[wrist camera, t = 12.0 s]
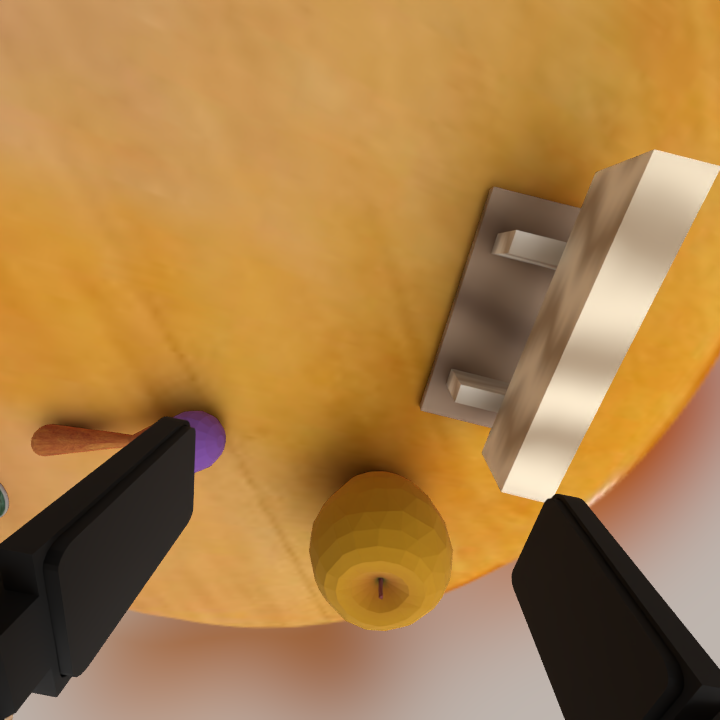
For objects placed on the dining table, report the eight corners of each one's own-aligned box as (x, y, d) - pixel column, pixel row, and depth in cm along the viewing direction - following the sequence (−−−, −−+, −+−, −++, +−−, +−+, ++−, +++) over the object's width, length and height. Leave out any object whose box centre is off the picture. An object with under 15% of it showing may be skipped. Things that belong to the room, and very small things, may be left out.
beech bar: (595, 172, 22) (654, 149, 17) (648, 185, 22) (721, 166, 17) (481, 452, 29) (501, 491, 24) (522, 462, 29) (549, 503, 24)
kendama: (11, 421, 32) (197, 420, 29) (72, 405, 38) (233, 404, 35) (20, 479, 33) (204, 485, 30) (79, 455, 39) (238, 458, 36)
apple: (448, 456, 35) (478, 547, 24) (428, 552, 39) (446, 669, 28) (326, 441, 35) (300, 524, 24) (318, 538, 39) (293, 647, 28)
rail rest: (490, 188, 27) (512, 174, 22) (656, 230, 27) (714, 225, 22) (419, 406, 33) (425, 431, 28) (555, 439, 33) (584, 470, 29)
